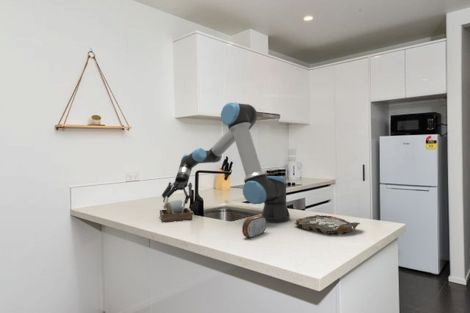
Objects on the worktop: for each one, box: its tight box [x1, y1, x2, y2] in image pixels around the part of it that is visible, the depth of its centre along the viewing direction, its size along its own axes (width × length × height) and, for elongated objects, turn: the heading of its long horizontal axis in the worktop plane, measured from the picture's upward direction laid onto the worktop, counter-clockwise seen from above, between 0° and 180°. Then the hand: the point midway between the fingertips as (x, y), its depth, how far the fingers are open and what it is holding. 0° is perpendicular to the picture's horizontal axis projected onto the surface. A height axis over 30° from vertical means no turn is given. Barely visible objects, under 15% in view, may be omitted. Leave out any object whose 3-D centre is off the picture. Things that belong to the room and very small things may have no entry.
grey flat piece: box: [293, 214, 361, 235], centre depth 156 cm, size 30×22×5 cm
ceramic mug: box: [165, 199, 184, 214], centre depth 182 cm, size 11×8×8 cm
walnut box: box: [159, 207, 193, 223], centre depth 184 cm, size 16×16×4 cm
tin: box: [241, 214, 267, 239], centre depth 145 cm, size 15×3×8 cm, turn 141°
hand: (173, 207), depth 181 cm, fingers closed on ceramic mug, 10 cm apart
